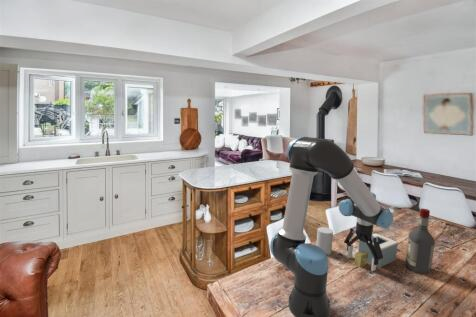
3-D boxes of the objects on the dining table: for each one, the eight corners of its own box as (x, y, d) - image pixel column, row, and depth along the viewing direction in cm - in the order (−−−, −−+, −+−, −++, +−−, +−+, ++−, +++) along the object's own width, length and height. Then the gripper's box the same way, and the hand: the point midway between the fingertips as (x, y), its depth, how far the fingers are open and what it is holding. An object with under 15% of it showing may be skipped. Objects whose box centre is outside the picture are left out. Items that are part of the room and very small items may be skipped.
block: (359, 267, 129) (361, 255, 128) (354, 264, 131) (355, 253, 130) (367, 264, 132) (368, 252, 131) (361, 261, 134) (363, 250, 133)
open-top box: (379, 267, 129) (381, 248, 127) (358, 256, 139) (359, 238, 137) (395, 260, 136) (397, 242, 134) (373, 250, 146) (375, 233, 144)
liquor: (424, 265, 132) (432, 207, 127) (432, 275, 123) (440, 214, 118) (403, 262, 134) (410, 205, 129) (410, 271, 125) (417, 212, 121)
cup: (332, 255, 139) (334, 234, 138) (316, 253, 141) (318, 232, 139) (330, 248, 147) (331, 227, 145) (315, 246, 149) (316, 226, 147)
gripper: (394, 230, 120) (389, 274, 123) (348, 213, 140) (345, 251, 144) (385, 234, 116) (380, 278, 119) (338, 216, 137) (335, 254, 140)
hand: (361, 263), depth 131 cm, fingers open, 12 cm apart
